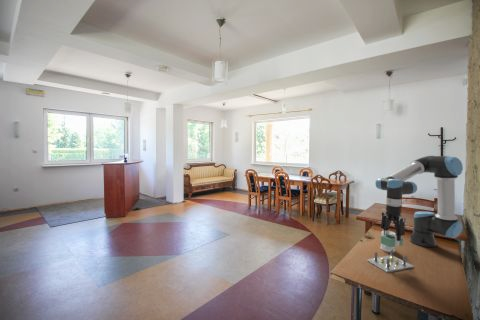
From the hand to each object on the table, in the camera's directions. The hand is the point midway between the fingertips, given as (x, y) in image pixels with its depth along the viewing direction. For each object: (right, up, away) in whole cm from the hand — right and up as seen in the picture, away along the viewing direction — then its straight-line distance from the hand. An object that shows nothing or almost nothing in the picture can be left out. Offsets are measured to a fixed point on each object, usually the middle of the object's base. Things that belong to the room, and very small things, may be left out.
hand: (391, 243), depth 140 cm
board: (0, -1, 0) cm, 1 cm away
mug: (+10, -12, +20) cm, 25 cm away
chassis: (0, -13, +1) cm, 13 cm away
